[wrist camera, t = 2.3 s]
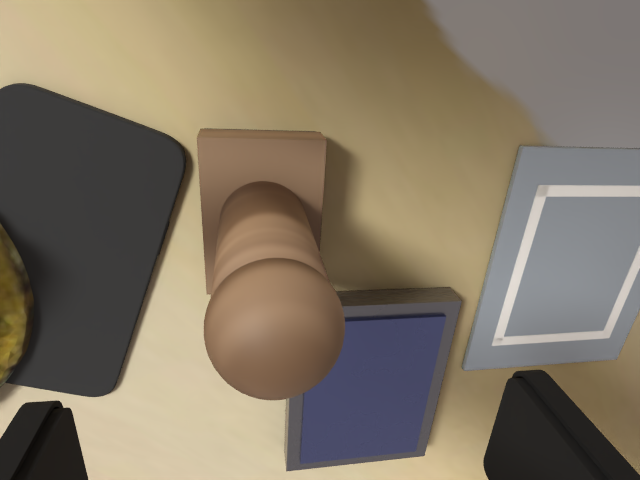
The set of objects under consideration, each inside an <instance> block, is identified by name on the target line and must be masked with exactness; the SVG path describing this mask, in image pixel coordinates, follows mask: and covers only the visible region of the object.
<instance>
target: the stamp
mask: <svg viewBox="0 0 640 480" xmlns="http://www.w3.org/2000/svg"><path fill="white" fill-rule="evenodd" d="M197 147H198V163H199V179H200V195H201V211H202V226H203V242H204V258H205V274H206V290H207V294H211V299H210V301H209V304H208V307H207V310H206V314H205V320H204V340H205V345H206V350H207V353H208V356H209V358H210V360H211V362H212V364H213V366H214V368H215V369H216V371H217V372H218V373H219V375H220V376H221V377H222V378H223V379H224V380H225V381H226V382H227V383H228V384H229V385H231V386H232V387H233V388H235V389H236V390H238V391H240V392H241V393H243V394H246V395H248V396H251V397H254V398H258V399H264V400H282V399H288V398H292V397H295V396H298V395H300V394H303V393H305V392H307V391H308V390H310V389H312V388H313V387H314V386H316V385H317V384H318V383H320V382H321V381H322V380H323V379H324V378H325V377H326V376H327V375H328V373H329V372H330V371H331V369H332V368H333V366H334V365H335V363H336V361H337V359H338V357H339V355H340V352H341V349H342V346H343V341H344V335H345V318H344V312H343V308H342V305H341V301H340V299H339V297H338V295H337V293H336V291H335V289H334V288H333V286H332V285H331V284H330V281H329V279H328V276H327V273H326V270H325V267H324V264H323V262H322V259H321V256H320V253H319V251H320V236H321V221H322V206H323V191H324V176H325V161H326V147H327V140H326V139H325V137H324V136H323V135H322V134H321V132H314V131H277V130H241V129H200V131H199V134H198V136H197Z"/></svg>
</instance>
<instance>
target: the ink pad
mask: <svg viewBox="0 0 640 480" xmlns="http://www.w3.org/2000/svg"><path fill="white" fill-rule="evenodd" d="M336 293H337V295H338V297H339V299H340V301H341V305H342V308H343V312H344V318H345V335H344V341H343V346H342V349H341V352H340V355H339V357H338V359H337V361H336V363H335V365H334V366H333V368H332V369H331V371H330V372H329V373H328V375H327V376H326V377H325V378H324V379H323V380H322V381H321V382H320V383H318V384H317V385H316V386H314V387H313V388H312V389H310V390H308V391H307V392H305V393H303V394H300V395H298V396H295V397H292V398H288V399H286V420H285V448H284V453H285V462H286V471H293V470H302V469H311V468H320V467H329V466H338V465H347V464H356V463H365V462H374V461H383V460H392V459H401V458H410V457H419V456H424V455H425V451H426V447H427V443H428V439H429V435H430V431H431V426H432V422H433V418H434V414H435V410H436V406H437V401H438V397H439V393H440V389H441V385H442V381H443V377H444V372H445V368H446V364H447V360H448V356H449V352H450V347H451V343H452V339H453V335H454V331H455V327H456V323H457V318H458V314H459V310H460V306H461V302H462V301H461V300H460V299H459V297H458V296H457V295H456V294H455V292H454V291H453V290H452V289H451V288H450V287H442V288H416V289H390V290H365V291H339V292H336Z"/></svg>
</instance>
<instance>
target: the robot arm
mask: <svg viewBox="0 0 640 480" xmlns="http://www.w3.org/2000/svg"><path fill="white" fill-rule="evenodd" d="M484 470H485V473H486V475H487V477H488V479H489V480H640V475H639V474H638V473H637V472H636V471H635V470H634V468H633V467H632V466H631V465H630V464H629V463H628V462H627V461H626V460H625V458H624V457H623V456H622V455H621V454H620V453H619V452H618V451H617V450H616V449H615V447H614V446H613V445H612V444H611V443H610V442H609V441H608V440H607V439H606V438H605V436H604V435H603V434H602V433H601V432H600V431H599V430H598V429H597V428H596V427H595V425H594V424H593V423H592V422H591V421H590V420H589V419H588V418H587V417H586V416H585V414H584V413H583V412H582V411H581V410H580V409H579V408H578V407H577V406H576V405H575V403H574V402H573V401H572V400H571V399H570V398H569V397H568V396H567V395H566V393H565V392H564V391H563V390H562V389H561V388H560V387H559V386H558V385H557V384H556V382H555V381H554V380H553V379H552V378H551V377H550V376H549V375H548V374H547V373H546V372H545V371H543V370H529V371H516V372H515V373H514V374H513V376H512V378H510V379H508V381H507V383H506V386H505V390H504V393H503V396H502V400H501V403H500V406H499V410H498V413H497V416H496V420H495V423H494V426H493V430H492V433H491V436H490V439H489V443H488V446H487V449H486V453H485V456H484ZM0 480H88V476H87V472H86V468H85V464H84V460H83V456H82V451H81V447H80V443H79V439H78V435H77V430H76V426H75V422H74V418H73V414H72V411H71V409H70V408H63V406H62V403H61V402H60V401H44V402H29V403H25V404H23V405H22V406H21V408H20V409H19V410H18V412H17V413H16V415H15V417H14V418H13V420H12V421H11V423H10V424H9V426H8V428H7V429H6V431H5V432H4V434H3V436H2V437H1V439H0Z"/></svg>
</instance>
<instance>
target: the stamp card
mask: <svg viewBox="0 0 640 480" xmlns="http://www.w3.org/2000/svg"><path fill="white" fill-rule="evenodd" d="M639 309H640V148H599V147H598V148H597V147H596V148H595V147H556V146H519V150H518V154H517V158H516V162H515V165H514V169H513V173H512V177H511V181H510V185H509V188H508V192H507V196H506V200H505V204H504V207H503V211H502V215H501V219H500V223H499V227H498V230H497V234H496V238H495V242H494V246H493V250H492V253H491V257H490V261H489V265H488V269H487V273H486V276H485V280H484V284H483V288H482V292H481V295H480V299H479V303H478V307H477V311H476V315H475V318H474V322H473V326H472V330H471V334H470V338H469V341H468V345H467V349H466V353H465V357H464V361H463V364H462V369H463V370H464V371H470V370H483V369H496V368H509V367H523V366H536V365H549V364H562V363H575V362H588V361H602V360H615V359H617V358H618V355H619V353H620V351H621V349H622V347H623V344H624V342H625V340H626V338H627V336H628V334H629V331H630V329H631V327H632V325H633V323H634V320H635V318H636V316H637V314H638V312H639Z"/></svg>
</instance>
